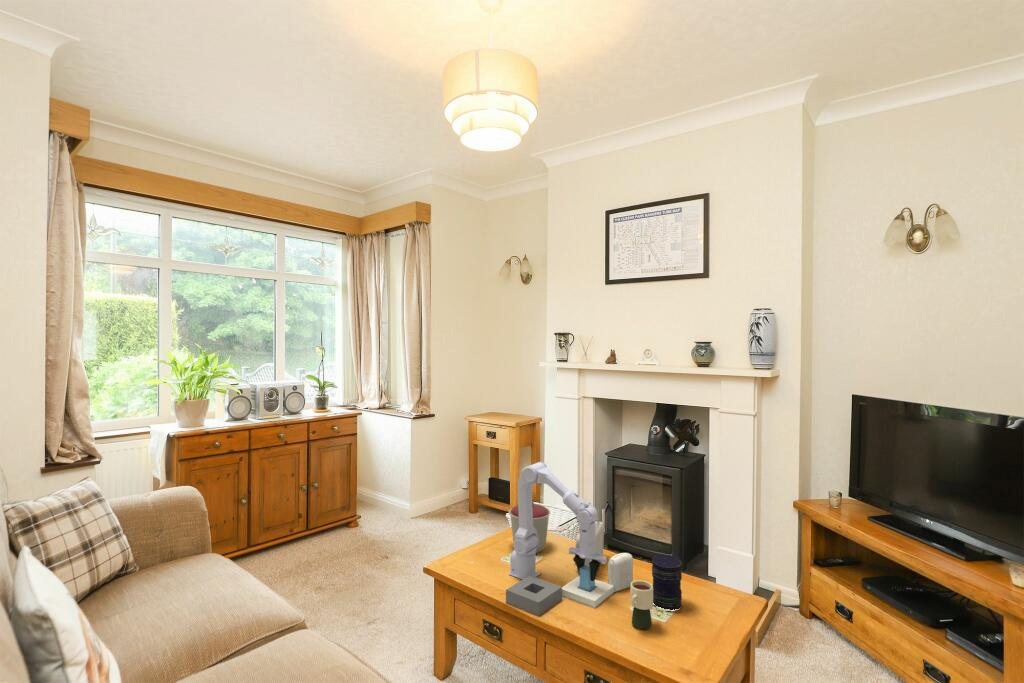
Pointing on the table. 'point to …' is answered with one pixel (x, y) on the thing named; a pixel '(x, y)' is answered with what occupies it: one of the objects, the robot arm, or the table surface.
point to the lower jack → (585, 597)
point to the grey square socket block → (534, 595)
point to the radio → (598, 540)
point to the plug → (586, 579)
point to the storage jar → (667, 582)
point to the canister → (539, 523)
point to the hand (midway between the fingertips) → (587, 578)
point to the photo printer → (620, 571)
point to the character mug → (641, 603)
